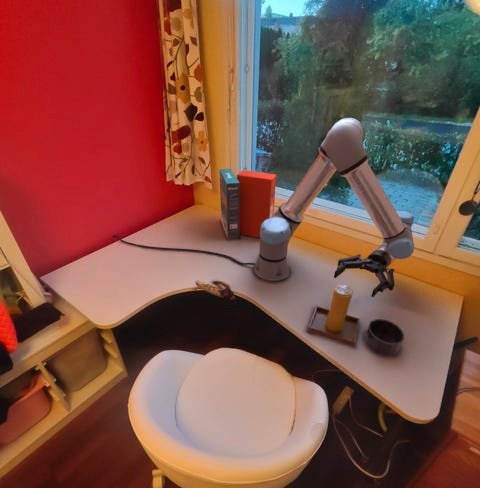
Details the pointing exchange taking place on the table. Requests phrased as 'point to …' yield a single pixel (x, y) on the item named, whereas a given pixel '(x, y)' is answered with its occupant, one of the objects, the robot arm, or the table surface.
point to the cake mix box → (229, 203)
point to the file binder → (255, 200)
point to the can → (338, 308)
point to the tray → (343, 336)
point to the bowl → (384, 337)
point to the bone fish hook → (217, 289)
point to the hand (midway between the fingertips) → (353, 283)
